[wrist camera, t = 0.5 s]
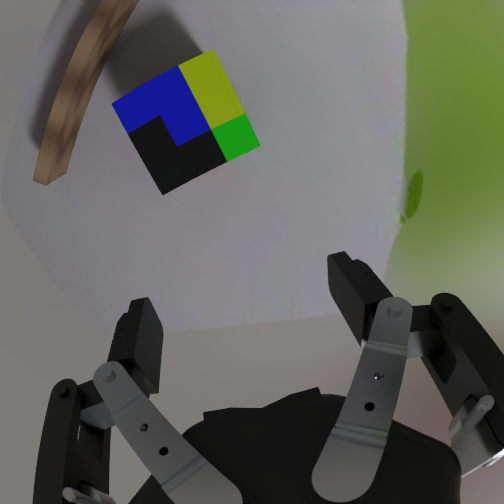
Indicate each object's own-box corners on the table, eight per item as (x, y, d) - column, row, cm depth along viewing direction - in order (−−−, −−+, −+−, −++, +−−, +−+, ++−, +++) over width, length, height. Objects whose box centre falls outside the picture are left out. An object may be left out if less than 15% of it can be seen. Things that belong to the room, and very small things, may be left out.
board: (125, -3, 23) (113, -19, 18) (139, 0, 24) (128, -16, 19) (54, 168, 32) (32, 180, 26) (66, 173, 32) (46, 185, 27)
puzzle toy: (135, 103, 30) (111, 103, 22) (210, 64, 30) (213, 49, 21) (172, 171, 35) (162, 195, 27) (245, 135, 35) (260, 145, 26)
